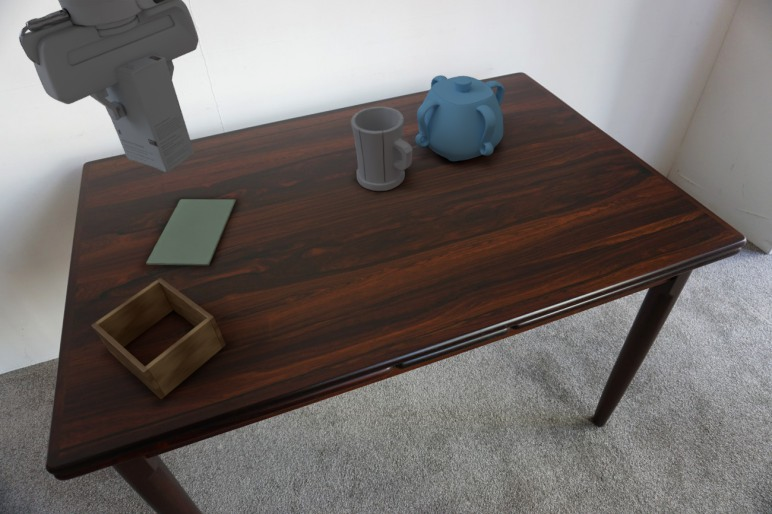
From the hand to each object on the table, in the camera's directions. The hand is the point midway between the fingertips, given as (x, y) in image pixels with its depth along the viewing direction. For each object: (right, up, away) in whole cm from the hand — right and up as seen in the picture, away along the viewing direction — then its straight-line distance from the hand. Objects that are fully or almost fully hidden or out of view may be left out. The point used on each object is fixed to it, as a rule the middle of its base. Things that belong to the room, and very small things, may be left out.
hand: (143, 105), depth 71 cm
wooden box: (+4, -33, -1) cm, 33 cm away
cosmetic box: (0, -6, +6) cm, 8 cm away
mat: (+1, -16, +16) cm, 23 cm away
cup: (+33, -6, +25) cm, 42 cm away
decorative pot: (+47, +1, +32) cm, 57 cm away
